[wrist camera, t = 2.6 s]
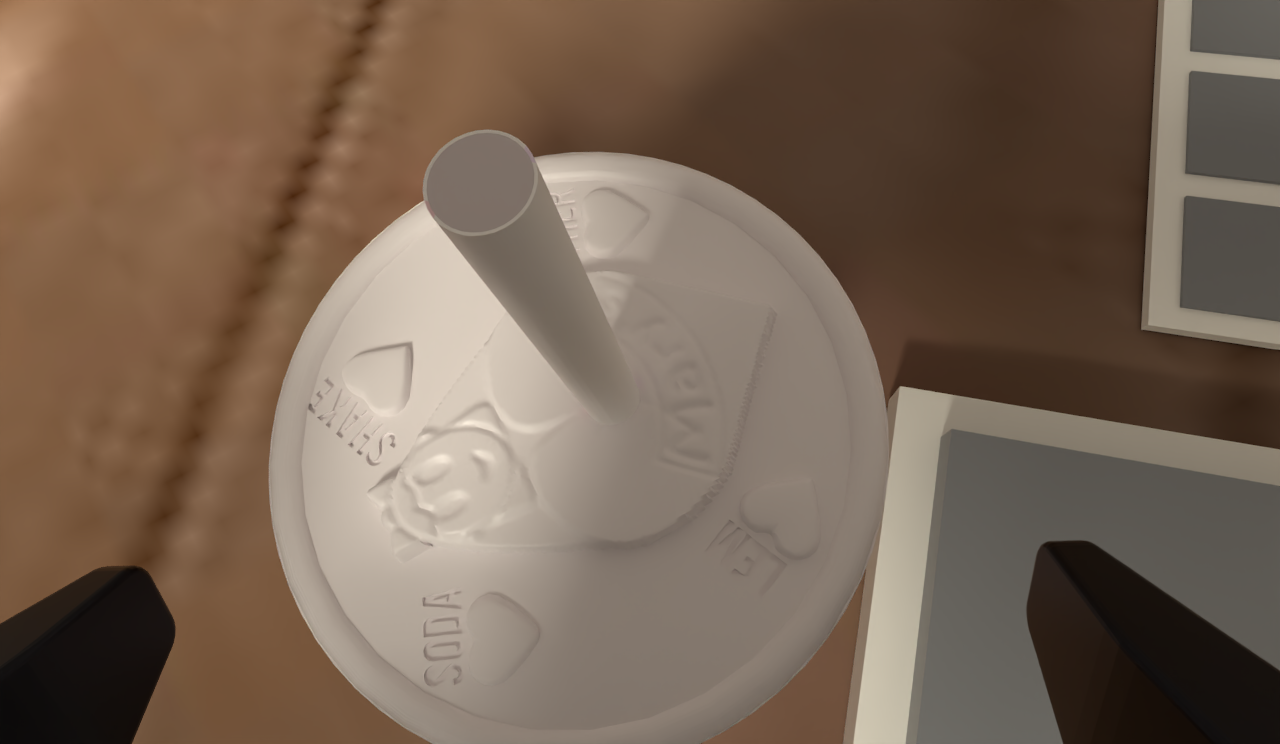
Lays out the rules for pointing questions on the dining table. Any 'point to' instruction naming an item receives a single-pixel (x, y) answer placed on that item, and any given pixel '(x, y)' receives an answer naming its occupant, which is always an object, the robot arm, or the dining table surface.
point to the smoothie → (577, 453)
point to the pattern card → (1215, 173)
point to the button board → (1008, 543)
